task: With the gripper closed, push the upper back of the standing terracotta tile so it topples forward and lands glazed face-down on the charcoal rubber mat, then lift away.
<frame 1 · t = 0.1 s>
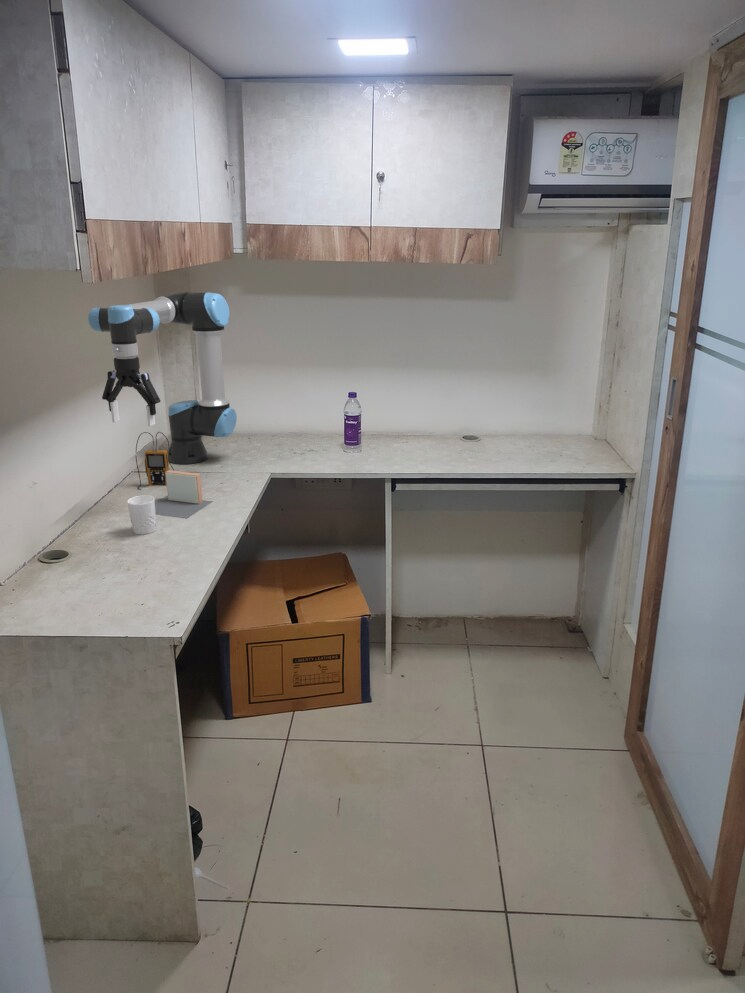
hand: (133, 423, 230), 28 cm above the worktop, tool pointing down, fingers open, 13 cm apart
multimeter: (156, 489, 253), on the worktop
white cup: (144, 531, 219), on the worktop
mat: (176, 508, 236), on the worktop
tile: (185, 501, 240), point 1 cm above the worktop, touching mat
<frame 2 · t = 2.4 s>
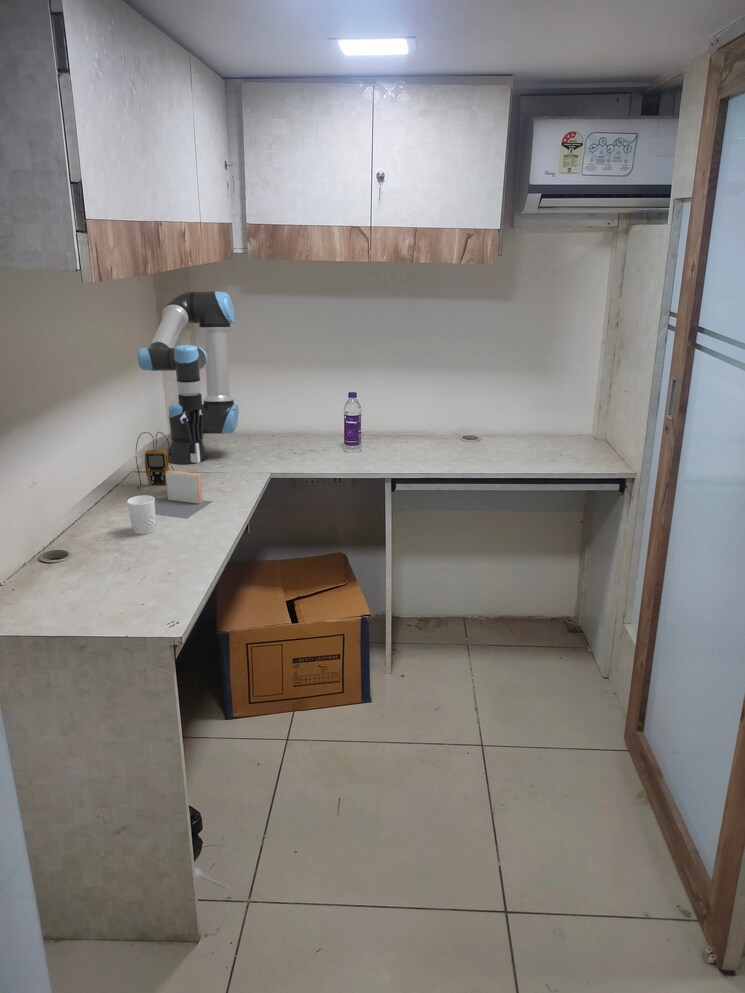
hand: (195, 461, 244), 12 cm above the worktop, tool pointing down, fingers closed
nothing on the worktop moved.
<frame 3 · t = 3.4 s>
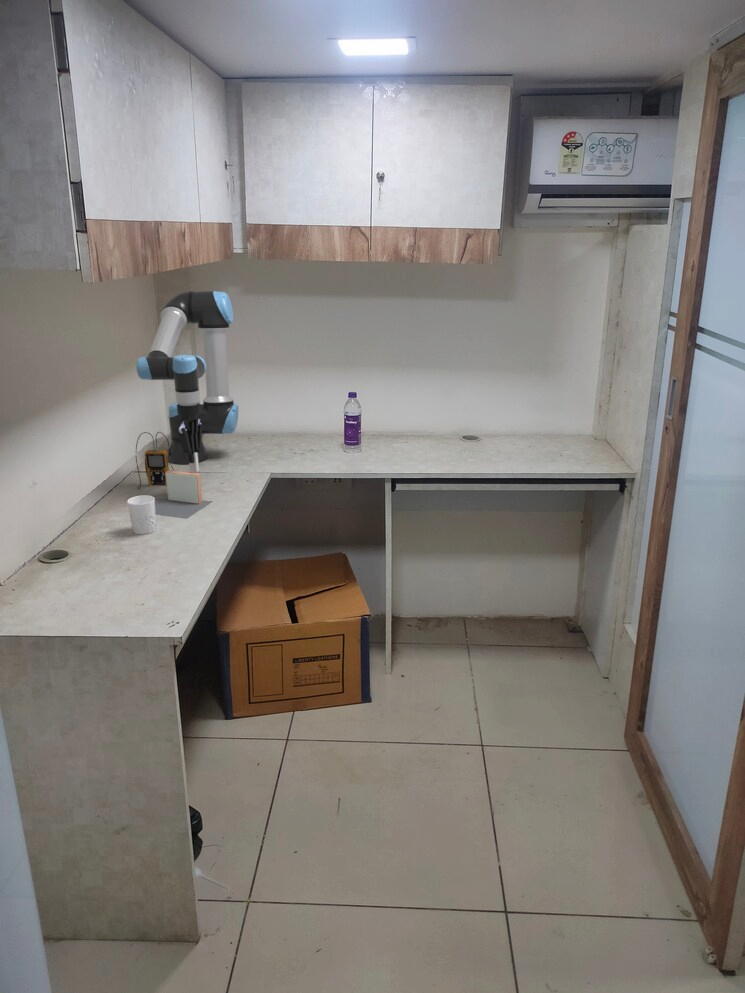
hand: (194, 471, 244), 9 cm above the worktop, tool pointing down, fingers closed
nothing on the worktop moved.
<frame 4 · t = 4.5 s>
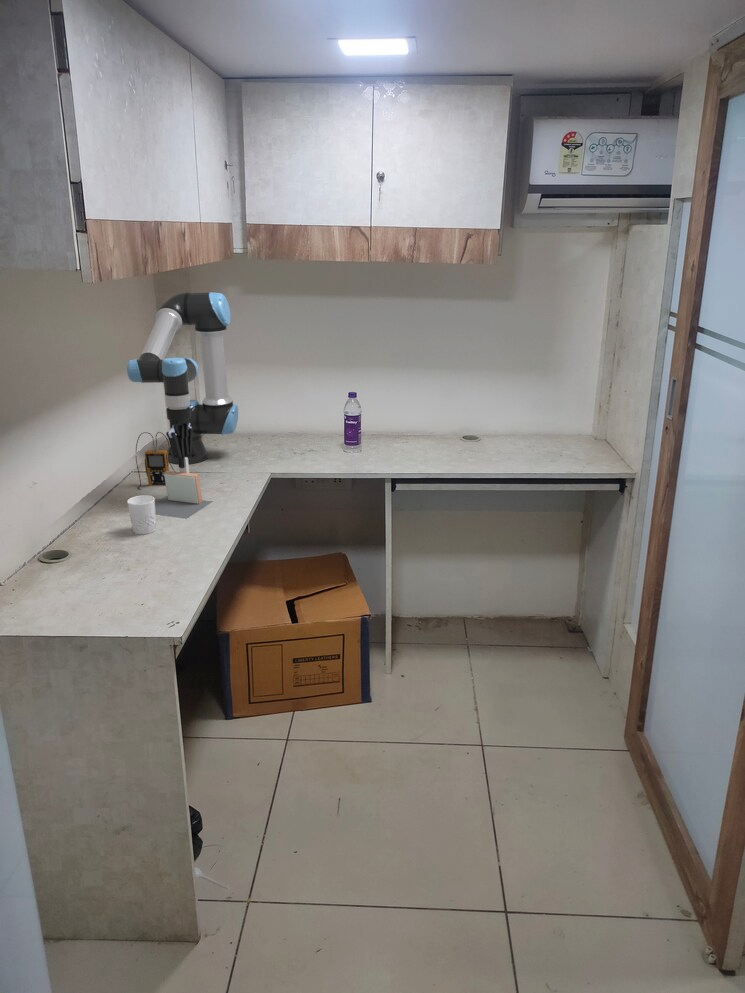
hand: (184, 476, 238), 9 cm above the worktop, tool pointing down, fingers closed
tile: (185, 500, 240), point 1 cm above the worktop, tilted 5°, touching gripper, mat
everything else where it was.
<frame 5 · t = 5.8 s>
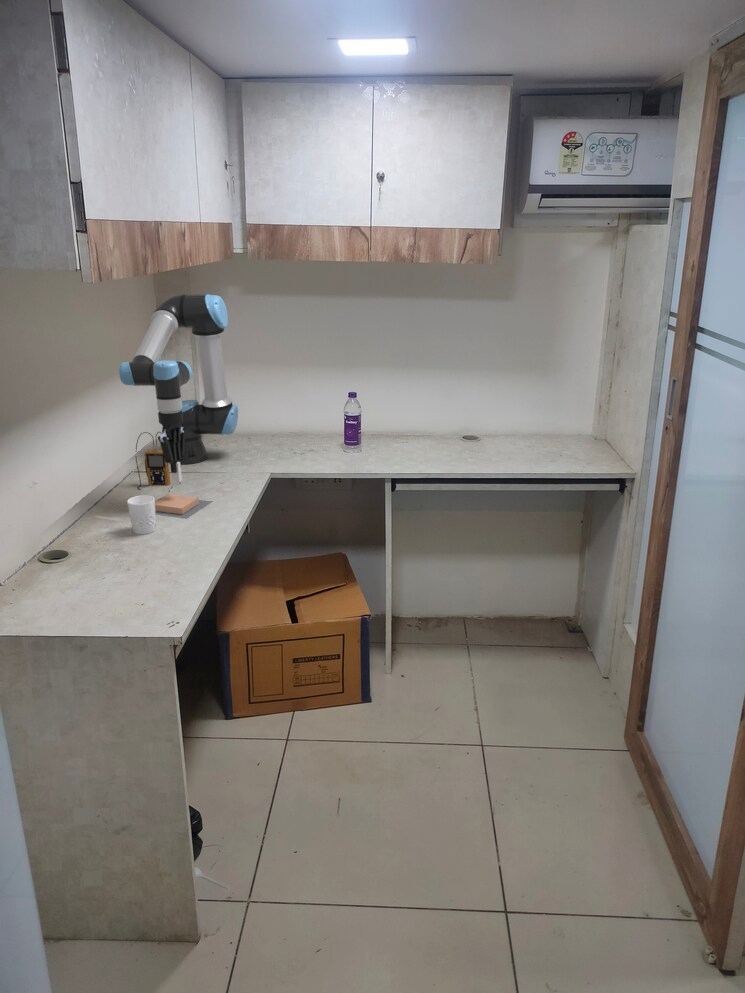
hand: (177, 480, 234), 9 cm above the worktop, tool pointing down, fingers closed
tile: (182, 498, 239), point 2 cm above the worktop, tilted 90°, touching mat
everything else where it was.
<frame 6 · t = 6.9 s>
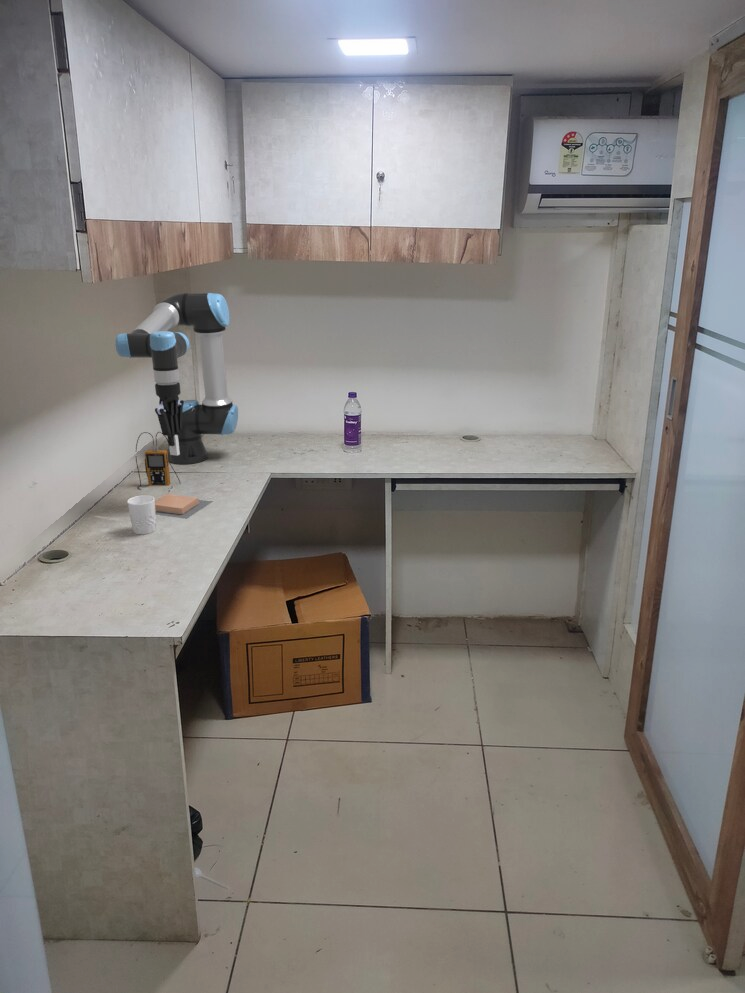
hand: (174, 454, 232), 18 cm above the worktop, tool pointing down, fingers closed
nothing on the worktop moved.
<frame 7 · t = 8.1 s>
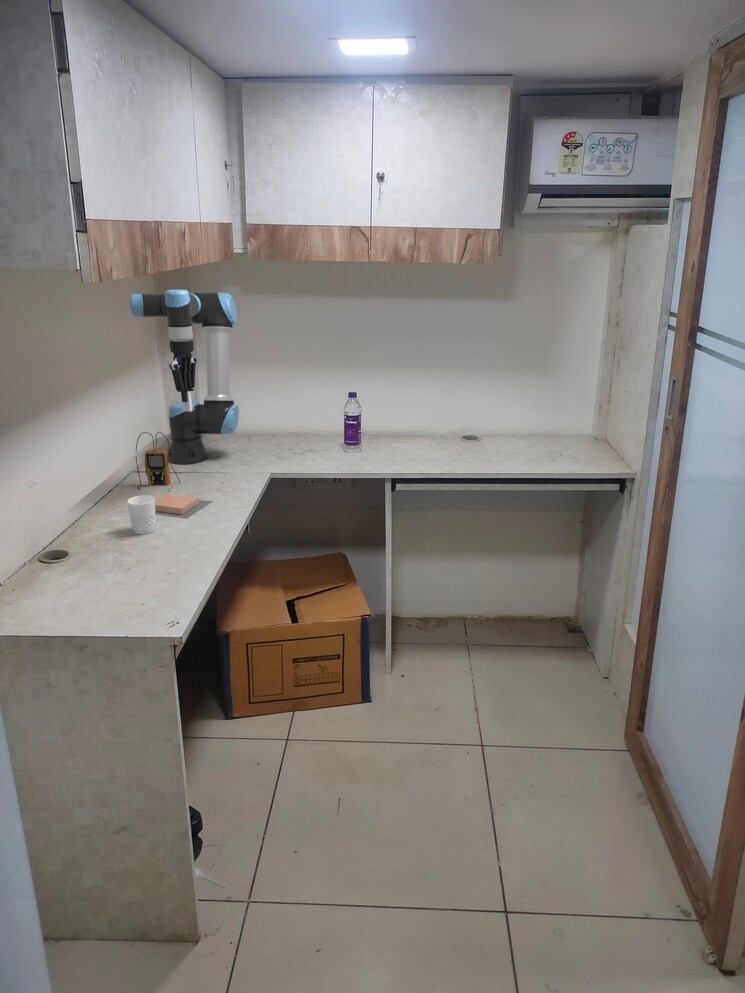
hand: (187, 410, 239), 29 cm above the worktop, tool pointing down, fingers closed
nothing on the worktop moved.
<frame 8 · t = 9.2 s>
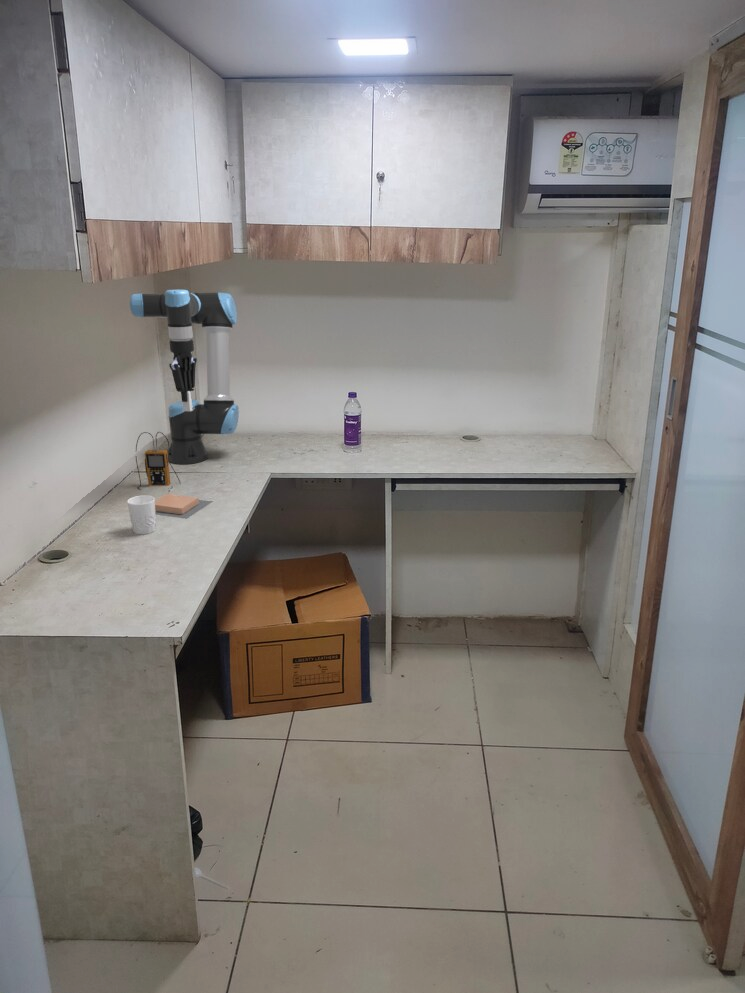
hand: (187, 410, 239), 29 cm above the worktop, tool pointing down, fingers closed
nothing on the worktop moved.
at the end: tile tilted 90°; tile inside the target area (2.5 cm from its centre), point 1.9 cm above the worktop; tile touching mat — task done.
